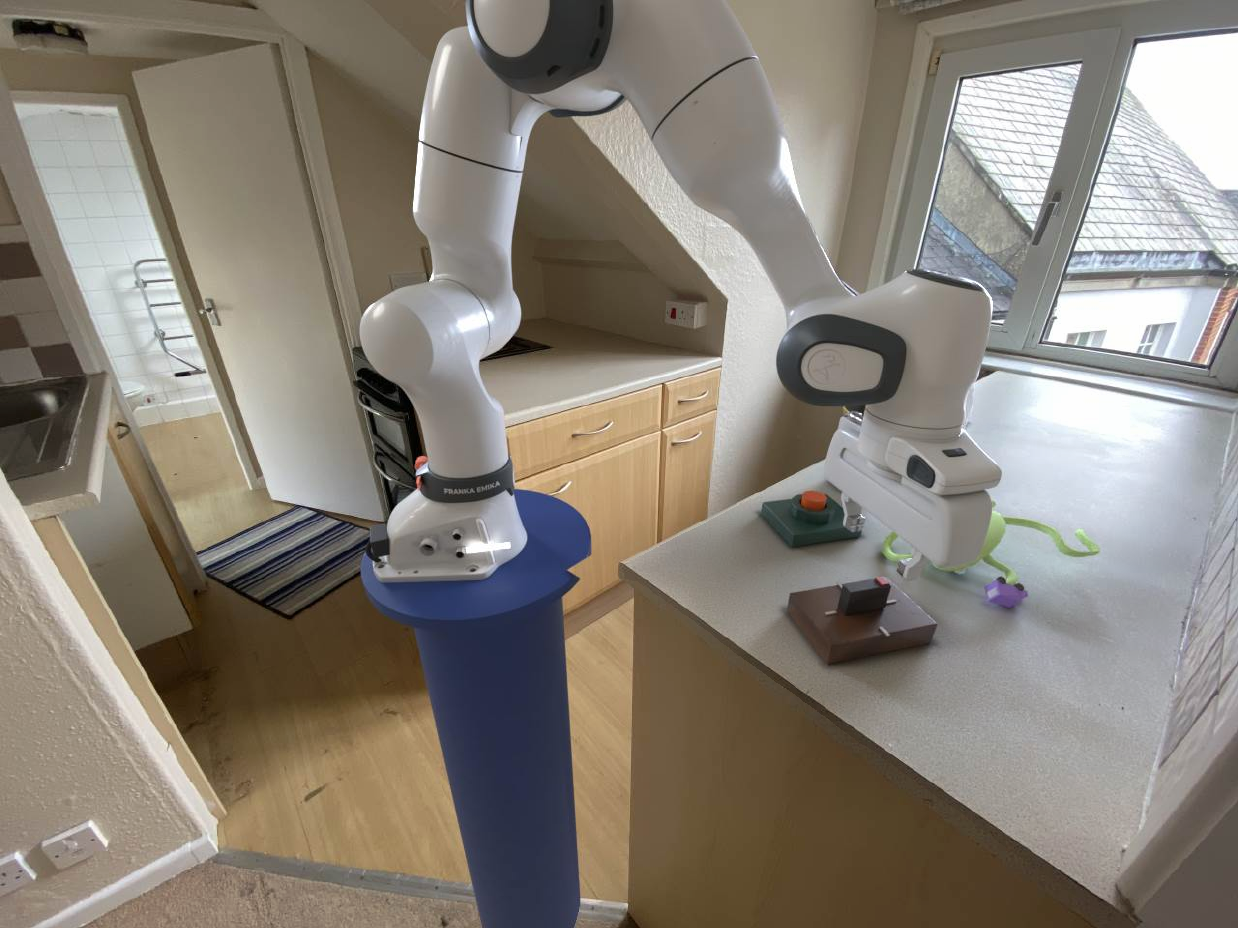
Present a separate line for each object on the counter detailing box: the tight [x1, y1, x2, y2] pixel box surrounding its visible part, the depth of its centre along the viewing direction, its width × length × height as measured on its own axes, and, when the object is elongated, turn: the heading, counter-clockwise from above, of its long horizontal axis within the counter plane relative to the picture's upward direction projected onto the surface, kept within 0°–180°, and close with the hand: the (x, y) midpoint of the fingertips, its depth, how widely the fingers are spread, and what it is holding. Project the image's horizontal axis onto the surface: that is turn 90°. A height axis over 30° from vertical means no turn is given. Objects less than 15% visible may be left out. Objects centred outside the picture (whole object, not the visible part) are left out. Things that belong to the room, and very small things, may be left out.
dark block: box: [838, 575, 891, 615], centre depth 63 cm, size 6×2×4 cm, turn 104°
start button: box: [801, 490, 826, 511], centre depth 84 cm, size 4×4×2 cm
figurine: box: [881, 499, 1101, 609], centre depth 76 cm, size 18×27×6 cm
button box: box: [760, 493, 863, 548], centre depth 85 cm, size 12×10×4 cm
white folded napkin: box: [962, 384, 976, 430], centre depth 121 cm, size 12×4×11 cm, turn 143°
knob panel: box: [786, 576, 938, 665], centre depth 65 cm, size 14×10×3 cm
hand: (878, 550), depth 60 cm, fingers open, 8 cm apart
